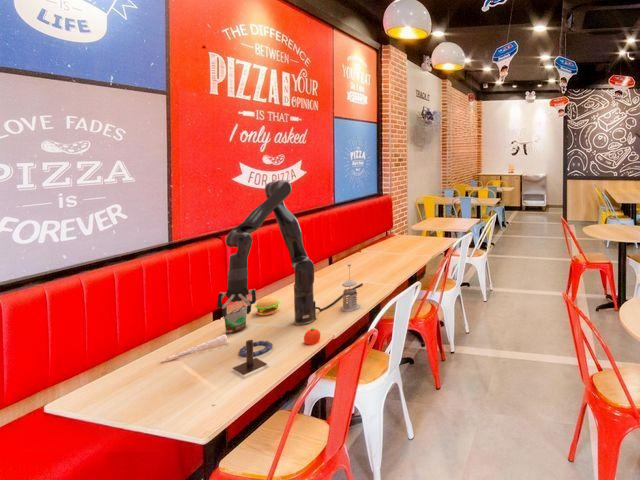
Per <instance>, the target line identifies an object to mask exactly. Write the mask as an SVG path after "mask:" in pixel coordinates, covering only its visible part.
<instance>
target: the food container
mask: <svg viewBox="0 0 640 480" xmlns="http://www.w3.org/2000/svg"><path fill="white" fill-rule="evenodd" d="M247 315H248V314H247V305H244V304H243V305H242V306H241V307H240V308H237V309H235V310H232V311H231V312H229V313H227V316H226V317H224V316H222V317H223V318H222V319H224V328H225V335H230V334H236V333H239V332H242V331H244V330H245V329H246V325H247Z"/></svg>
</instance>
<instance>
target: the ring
mask: <svg viewBox="0 0 640 480" xmlns="http://www.w3.org/2000/svg"><path fill="white" fill-rule="evenodd" d="M260 346H262V347H263V346H264V348H262V349H260V350H257V351H253V358H256V357H259V356H262V355H264V354H267V353H268V352H270V351H271V350H272V349H273V342H270V341H268V340H259V341H253V348H255V347H260ZM238 356H239V357H240V358H242V359H243V358H245V359H246V345H244V346H243V347H241V348H240V349H239V351H238Z"/></svg>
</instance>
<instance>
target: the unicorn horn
mask: <svg viewBox="0 0 640 480" xmlns="http://www.w3.org/2000/svg"><path fill="white" fill-rule="evenodd" d="M227 344H228V337H227V334H222V335H220V336H217V337H214V338H212V339H209V340H207V341H205V342H203V343H200V344H197V345H194V346H193V347H190V348H187V349H185V350H183V351H180V352H178V353H176V354H173V355H170V356H168V357H167V358H165V359H162V360H161V361H160V363H165V362H169V361H173V360H174V361H175V360H177V359H180V358H182V357H185V356H188V355H191V354H193V353H198V352H200V351H205V350H209V349H213V348H216V347H219V346H225V345H227Z"/></svg>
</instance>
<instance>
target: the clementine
mask: <svg viewBox="0 0 640 480" xmlns="http://www.w3.org/2000/svg"><path fill="white" fill-rule="evenodd" d="M320 339H321V332H320V331H319V329H317V328H314V327H311V328H309V329H308V330H307V331H306V332H305V333H304V335H303V341H304V343H305V344H306V345H315V344H317V343H318V342H319V341H320Z"/></svg>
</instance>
